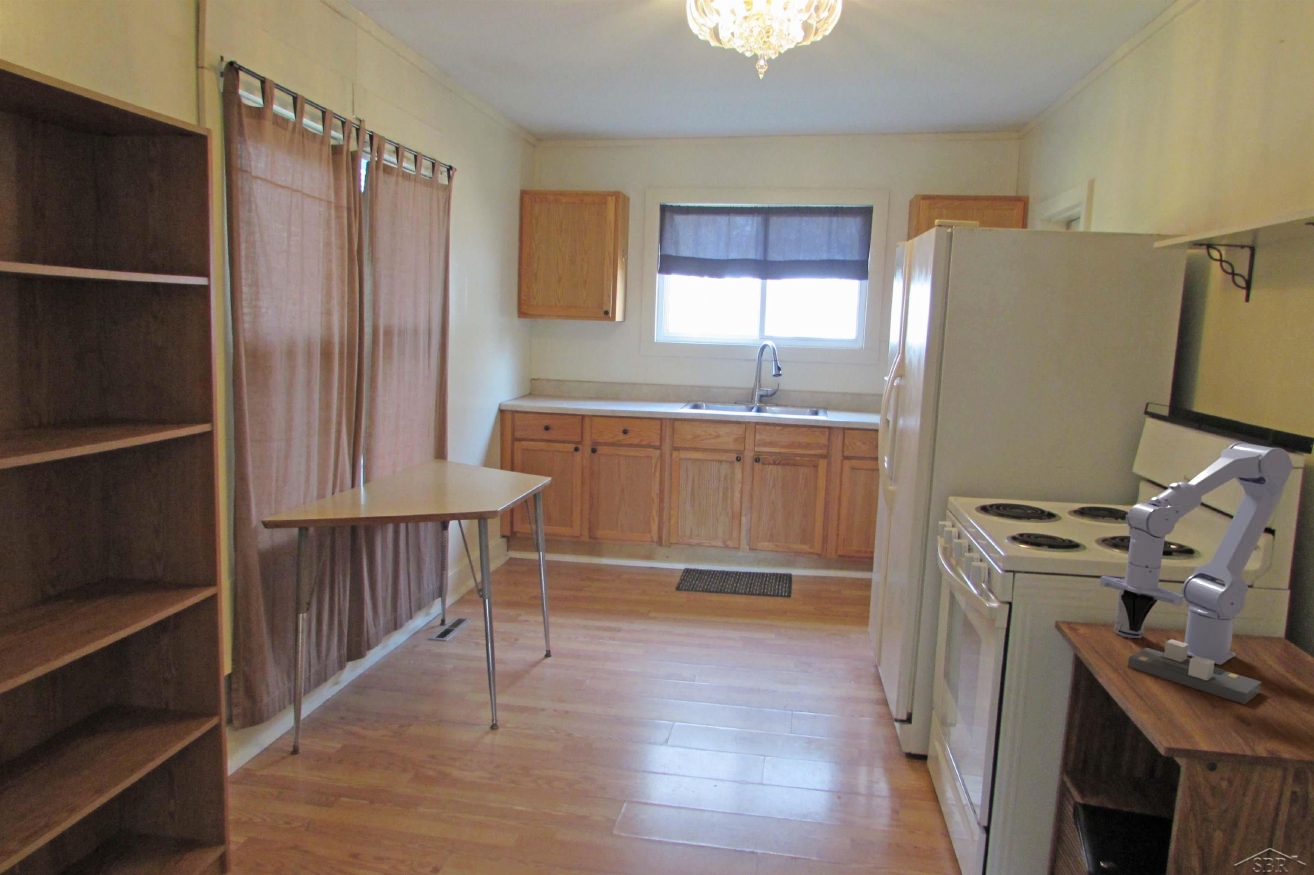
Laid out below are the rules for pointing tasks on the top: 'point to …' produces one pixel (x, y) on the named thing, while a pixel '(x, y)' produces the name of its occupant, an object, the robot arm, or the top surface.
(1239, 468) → the robot arm
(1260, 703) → the top surface
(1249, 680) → the switch panel
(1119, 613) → the energy drink
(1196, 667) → the switch tab
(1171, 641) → the switch tab
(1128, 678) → the top surface
